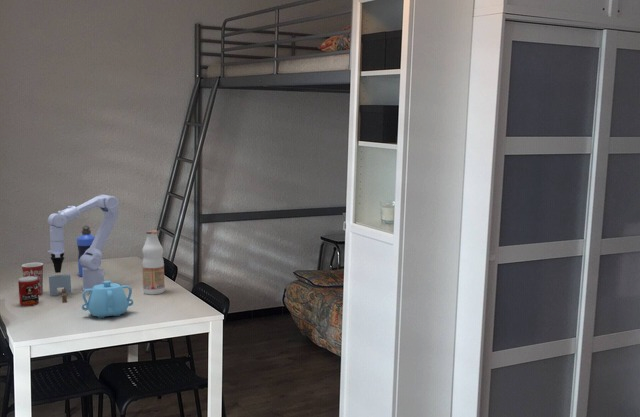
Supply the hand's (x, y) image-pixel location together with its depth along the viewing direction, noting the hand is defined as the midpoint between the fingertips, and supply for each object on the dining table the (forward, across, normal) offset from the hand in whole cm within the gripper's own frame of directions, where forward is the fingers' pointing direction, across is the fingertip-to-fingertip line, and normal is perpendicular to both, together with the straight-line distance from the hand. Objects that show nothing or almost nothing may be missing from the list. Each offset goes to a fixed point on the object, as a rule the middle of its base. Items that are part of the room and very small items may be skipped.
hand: (57, 270), depth 321 cm
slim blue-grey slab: (+11, 0, +1) cm, 11 cm away
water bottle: (+10, -35, +14) cm, 39 cm away
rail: (+11, +10, +2) cm, 15 cm away
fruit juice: (+10, +12, +40) cm, 43 cm away
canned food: (+11, +12, -12) cm, 21 cm away
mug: (+11, -6, -10) cm, 16 cm away
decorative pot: (+11, +42, +18) cm, 47 cm away
